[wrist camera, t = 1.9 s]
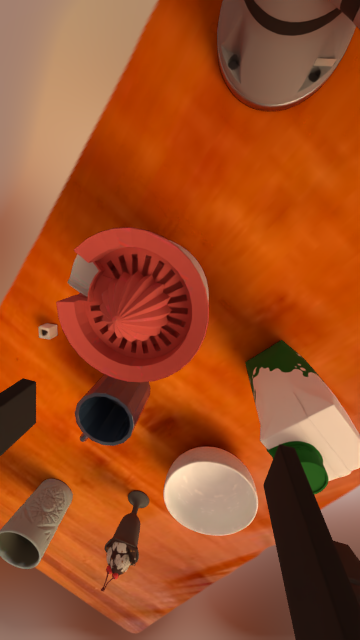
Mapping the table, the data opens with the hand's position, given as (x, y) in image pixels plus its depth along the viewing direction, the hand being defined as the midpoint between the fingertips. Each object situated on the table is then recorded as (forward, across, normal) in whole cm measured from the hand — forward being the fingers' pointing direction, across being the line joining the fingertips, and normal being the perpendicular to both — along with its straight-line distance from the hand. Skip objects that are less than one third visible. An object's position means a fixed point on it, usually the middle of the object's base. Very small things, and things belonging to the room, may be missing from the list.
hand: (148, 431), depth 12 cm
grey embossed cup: (+29, -24, -52) cm, 64 cm away
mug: (+29, -11, -19) cm, 36 cm away
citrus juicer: (+28, -6, +3) cm, 29 cm away
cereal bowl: (+29, +10, -31) cm, 44 cm away
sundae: (+29, -4, -46) cm, 55 cm away
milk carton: (+28, +15, -7) cm, 33 cm away
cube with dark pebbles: (+29, -26, -9) cm, 40 cm away
